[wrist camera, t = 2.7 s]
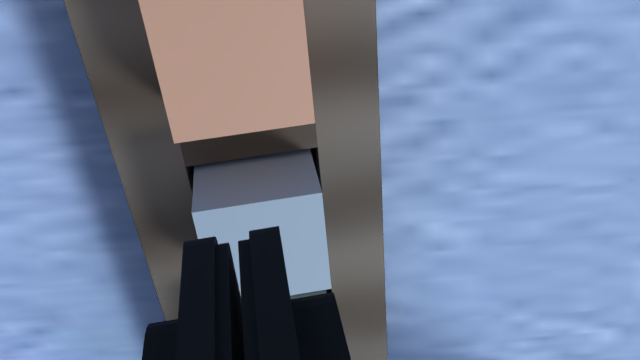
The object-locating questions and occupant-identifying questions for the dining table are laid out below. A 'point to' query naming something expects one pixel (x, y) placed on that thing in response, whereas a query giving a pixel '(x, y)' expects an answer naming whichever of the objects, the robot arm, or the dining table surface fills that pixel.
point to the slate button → (267, 211)
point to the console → (251, 150)
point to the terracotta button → (230, 65)
